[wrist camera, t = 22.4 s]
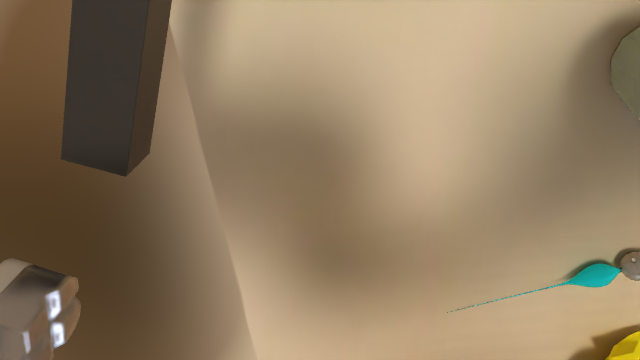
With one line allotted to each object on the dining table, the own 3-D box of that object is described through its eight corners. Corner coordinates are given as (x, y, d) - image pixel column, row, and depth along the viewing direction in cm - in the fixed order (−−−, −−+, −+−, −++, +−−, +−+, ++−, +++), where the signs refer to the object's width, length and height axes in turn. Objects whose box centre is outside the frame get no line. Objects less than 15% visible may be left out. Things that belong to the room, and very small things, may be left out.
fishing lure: (644, 256, 47) (658, 281, 45) (447, 306, 52) (453, 330, 50) (645, 242, 45) (659, 267, 43) (440, 294, 50) (446, 319, 48)
